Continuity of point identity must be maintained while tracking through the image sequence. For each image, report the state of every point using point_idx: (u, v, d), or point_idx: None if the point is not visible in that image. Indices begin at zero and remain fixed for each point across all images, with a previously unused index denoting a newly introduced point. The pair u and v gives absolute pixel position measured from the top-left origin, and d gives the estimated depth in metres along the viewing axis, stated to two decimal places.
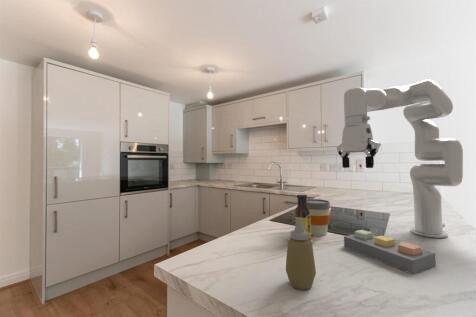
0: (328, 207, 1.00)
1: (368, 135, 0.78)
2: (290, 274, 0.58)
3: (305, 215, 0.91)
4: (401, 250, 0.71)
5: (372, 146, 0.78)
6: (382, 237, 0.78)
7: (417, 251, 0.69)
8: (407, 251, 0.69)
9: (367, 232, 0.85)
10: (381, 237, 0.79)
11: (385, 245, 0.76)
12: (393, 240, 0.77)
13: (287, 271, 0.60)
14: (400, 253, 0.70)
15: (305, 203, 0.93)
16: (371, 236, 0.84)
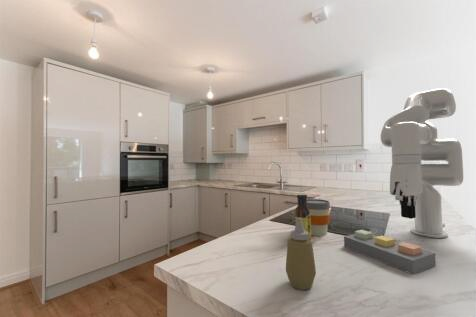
0: (328, 207, 1.00)
1: None
2: (290, 274, 0.58)
3: (305, 215, 0.91)
4: (401, 250, 0.71)
5: None
6: (382, 237, 0.78)
7: (417, 251, 0.69)
8: (407, 251, 0.69)
9: (367, 232, 0.85)
10: (381, 237, 0.79)
11: (385, 245, 0.76)
12: (393, 240, 0.77)
13: (287, 271, 0.60)
14: (400, 253, 0.70)
15: (305, 203, 0.93)
16: (371, 236, 0.84)
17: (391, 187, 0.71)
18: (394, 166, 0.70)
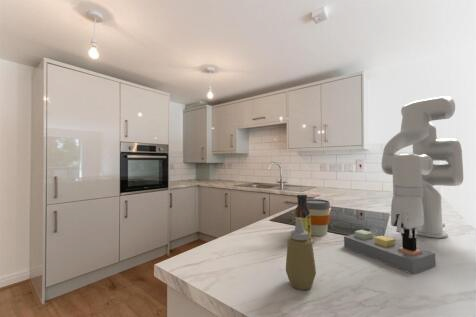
0: (328, 207, 1.00)
1: None
2: (290, 274, 0.58)
3: (305, 215, 0.91)
4: None
5: None
6: (382, 237, 0.78)
7: (417, 254, 0.69)
8: None
9: (367, 232, 0.85)
10: (381, 237, 0.79)
11: (385, 245, 0.76)
12: (393, 240, 0.77)
13: (287, 271, 0.60)
14: (400, 253, 0.70)
15: (305, 203, 0.93)
16: (371, 236, 0.84)
17: (392, 219, 0.70)
18: (395, 198, 0.70)
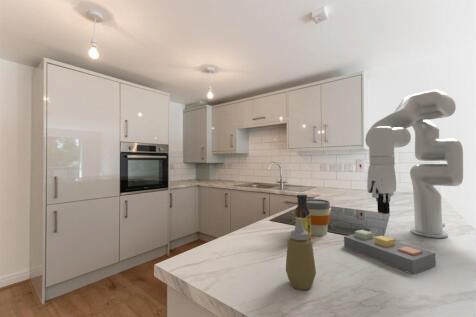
0: (328, 207, 1.00)
1: None
2: (290, 274, 0.58)
3: (305, 215, 0.91)
4: None
5: None
6: (382, 237, 0.78)
7: None
8: None
9: (367, 232, 0.85)
10: (381, 237, 0.79)
11: (385, 245, 0.76)
12: (393, 240, 0.77)
13: (287, 271, 0.60)
14: (400, 253, 0.70)
15: (305, 203, 0.93)
16: (371, 236, 0.84)
17: (368, 186, 0.78)
18: (371, 167, 0.77)
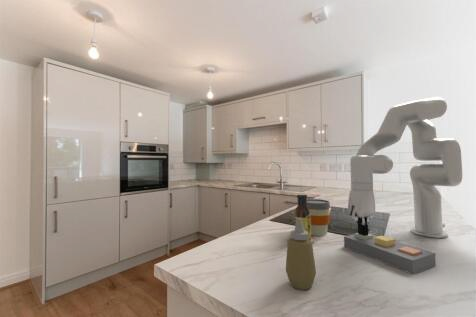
0: (328, 207, 1.00)
1: None
2: (290, 274, 0.58)
3: (305, 215, 0.91)
4: None
5: None
6: (382, 237, 0.78)
7: None
8: None
9: None
10: (381, 237, 0.79)
11: (385, 245, 0.76)
12: (393, 240, 0.77)
13: (287, 271, 0.60)
14: (400, 253, 0.70)
15: (305, 203, 0.93)
16: (371, 238, 0.84)
17: (349, 209, 0.85)
18: (351, 192, 0.85)
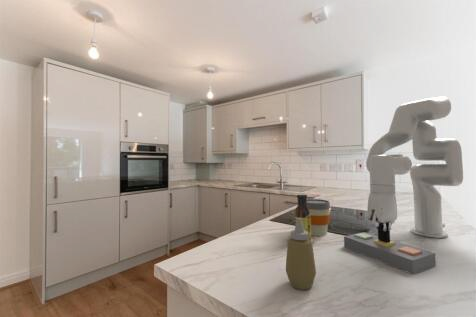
0: (328, 207, 1.00)
1: None
2: (290, 274, 0.58)
3: (305, 215, 0.91)
4: None
5: None
6: None
7: None
8: None
9: (367, 235, 0.85)
10: None
11: None
12: (393, 243, 0.77)
13: (287, 271, 0.60)
14: (400, 253, 0.70)
15: (305, 203, 0.93)
16: None
17: (368, 213, 0.78)
18: (371, 194, 0.77)
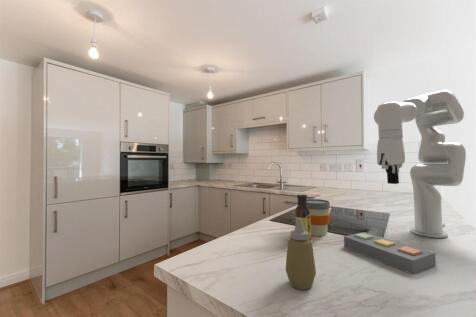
0: (328, 207, 1.00)
1: None
2: (290, 274, 0.58)
3: (305, 215, 0.91)
4: None
5: None
6: (383, 241, 0.78)
7: None
8: None
9: (367, 235, 0.85)
10: (381, 240, 0.79)
11: None
12: (393, 244, 0.77)
13: (287, 271, 0.60)
14: (400, 253, 0.70)
15: (305, 203, 0.93)
16: None
17: (378, 158, 0.83)
18: (380, 140, 0.83)
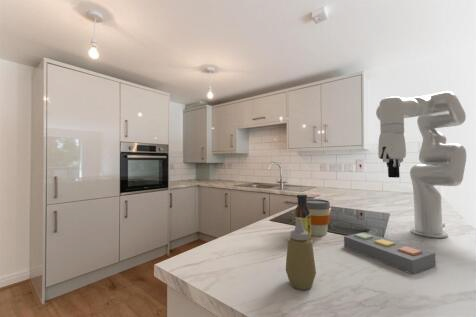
0: (328, 207, 1.00)
1: None
2: (290, 274, 0.58)
3: (305, 215, 0.91)
4: None
5: None
6: (383, 241, 0.78)
7: None
8: None
9: (367, 235, 0.85)
10: (381, 240, 0.79)
11: None
12: (393, 244, 0.77)
13: (287, 271, 0.60)
14: (400, 253, 0.70)
15: (305, 203, 0.93)
16: None
17: (379, 152, 0.84)
18: (382, 134, 0.84)
